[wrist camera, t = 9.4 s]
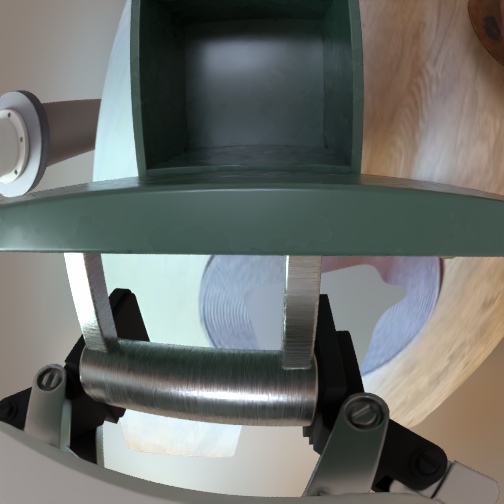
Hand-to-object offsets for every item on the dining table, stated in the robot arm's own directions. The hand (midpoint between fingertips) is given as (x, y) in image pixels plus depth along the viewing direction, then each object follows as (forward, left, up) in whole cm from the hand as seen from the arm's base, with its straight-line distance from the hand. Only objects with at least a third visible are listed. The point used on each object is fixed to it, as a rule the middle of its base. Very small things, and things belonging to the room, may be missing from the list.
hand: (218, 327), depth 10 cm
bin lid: (0, +5, -4) cm, 6 cm away
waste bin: (0, +11, -25) cm, 28 cm away
